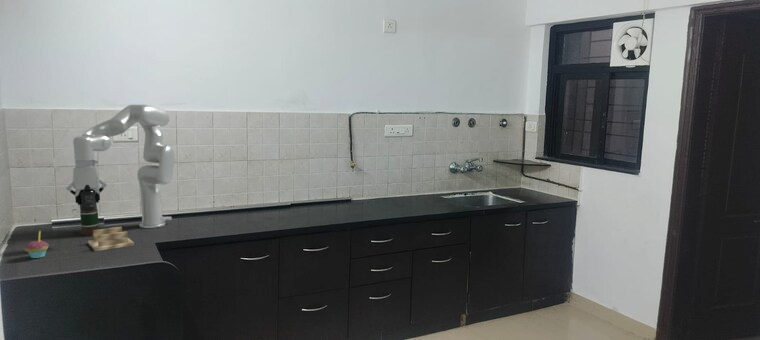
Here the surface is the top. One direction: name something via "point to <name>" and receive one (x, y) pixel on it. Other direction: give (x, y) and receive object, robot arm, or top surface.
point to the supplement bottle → (87, 199)
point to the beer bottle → (89, 222)
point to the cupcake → (36, 248)
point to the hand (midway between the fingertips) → (88, 203)
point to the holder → (110, 239)
